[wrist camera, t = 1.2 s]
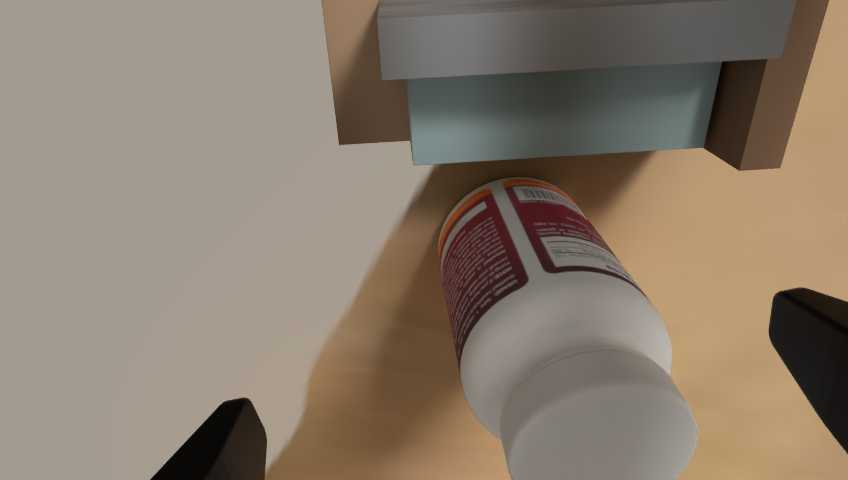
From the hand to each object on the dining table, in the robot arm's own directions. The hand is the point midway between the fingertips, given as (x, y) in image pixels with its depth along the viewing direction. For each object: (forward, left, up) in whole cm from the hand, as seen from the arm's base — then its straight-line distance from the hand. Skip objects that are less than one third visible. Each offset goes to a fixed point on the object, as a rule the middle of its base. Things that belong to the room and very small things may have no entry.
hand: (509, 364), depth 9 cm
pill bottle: (-3, +5, -13) cm, 14 cm away
